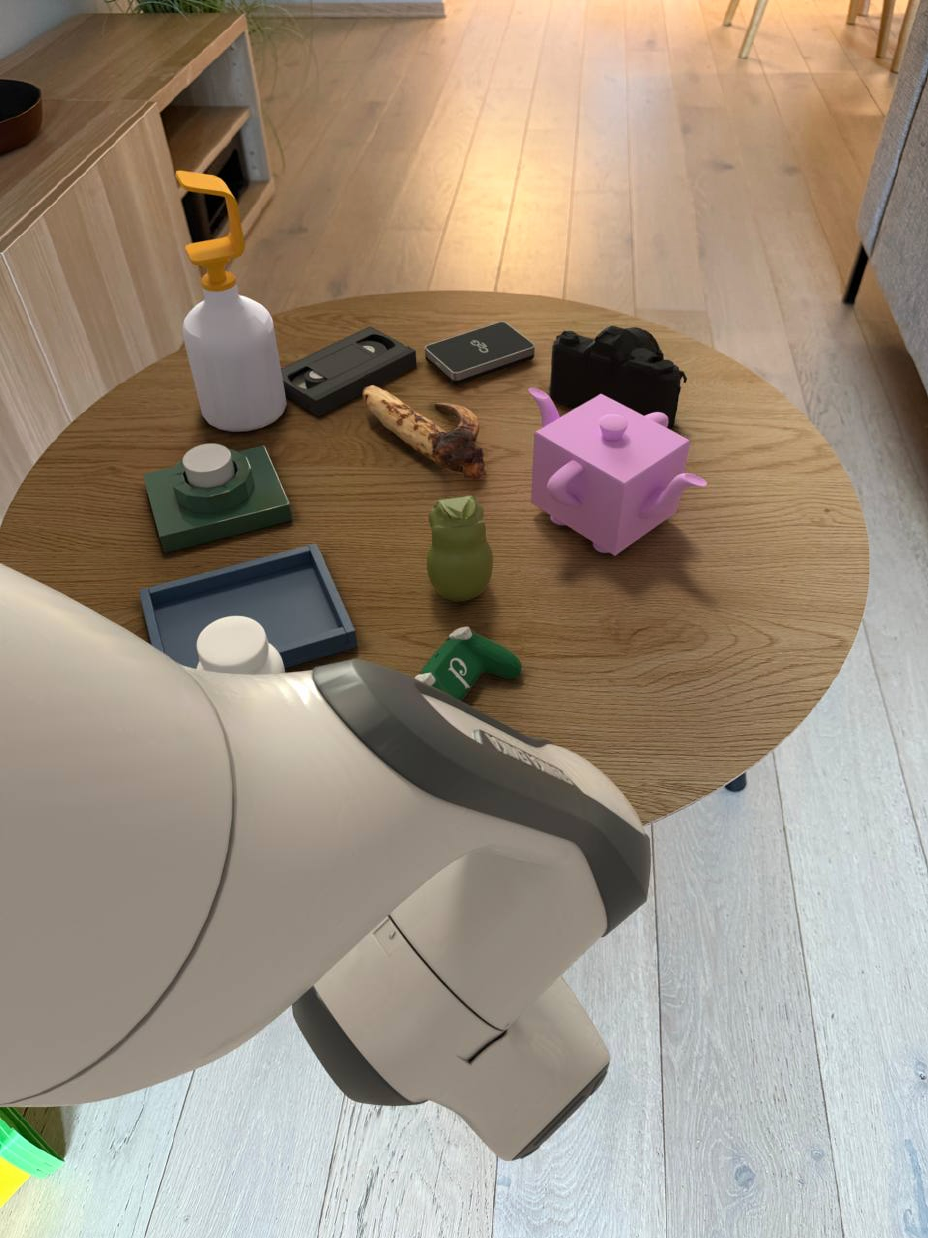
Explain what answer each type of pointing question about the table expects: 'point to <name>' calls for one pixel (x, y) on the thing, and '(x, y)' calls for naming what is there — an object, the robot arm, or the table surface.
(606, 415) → the teapot
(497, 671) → the gaming controller
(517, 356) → the external hard drive
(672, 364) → the film camera
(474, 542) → the green figurine
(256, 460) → the button base
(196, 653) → the dish
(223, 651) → the pill bottle
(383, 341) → the vhs tape
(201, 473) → the white short cylinder
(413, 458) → the table surface
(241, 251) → the soap bottle
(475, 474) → the bone fish hook
